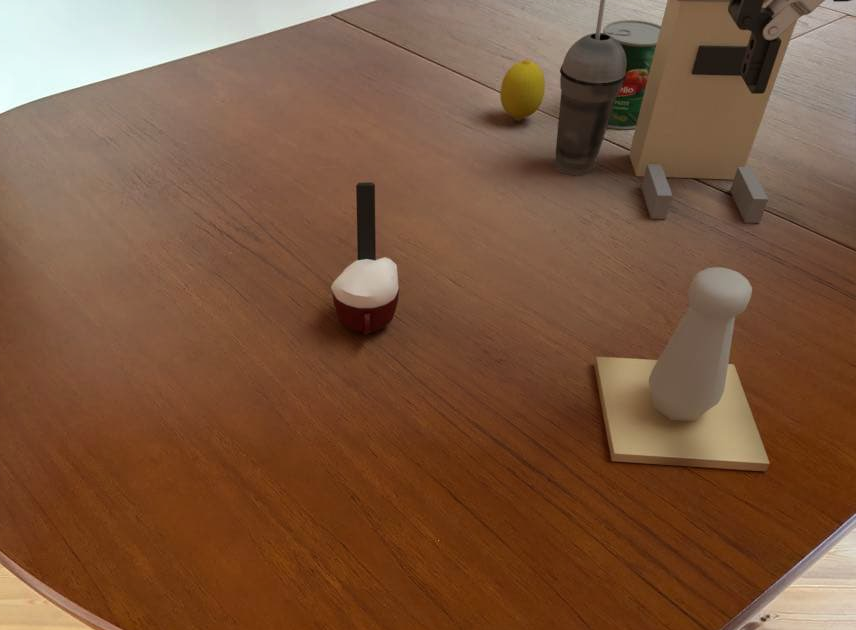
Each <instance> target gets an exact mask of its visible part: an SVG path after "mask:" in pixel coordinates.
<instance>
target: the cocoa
mask: <svg viewBox="0 0 856 630" xmlns="http://www.w3.org/2000/svg"><path fill="white" fill-rule="evenodd" d="M355 189H356V191H355V192H356V193H355V196H356V241H357V242H356V243H357V244H356V245H357V249H356V250H357V259H356V260H354V261H353V262H352V263H350V264H349V265H348V266H347V267H345V268H344V269H343V271H342V272H341V273H340V274H339V276H337V277H336V278H335V280H333V282H332V284H331V286H330V289H331V291H332V301H333V305H334V309H335V311H336V314H337V317H338V319H339V321H340V322H341V323H342V324H343V325H344V327H347V328H348V329H350V330H351V331H356V332H359V333H363V334H364V335H370V333H372V332H376V331H380V330H382V329H384V328H385V327H386V326H387V325H388V324H389V323H390V322H392V320H393V318H394V316H395V313H396V310H397V307H398V302H399V297H400V288H399V276H398V275H399V274H398V265H397V264H396V263H395V262H394V261H393V260H392V259H391V258H389V257H381V258H377V256H376V255H377V252H376V251H377V250H376V249H377V248H376V247H377V245H376V241H377V239H376V184H375V183H373V182H371V181H370V182H369V181H368V182H358V183H357V184H356V186H355Z"/></svg>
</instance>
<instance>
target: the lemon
mask: <svg viewBox="0 0 856 630" xmlns="http://www.w3.org/2000/svg"><path fill="white" fill-rule="evenodd" d="M545 91H546V80H545V75H544V73H543V71H542V69H541V68H540V66H539V65H538V64H536V63H535V62H534V61H533V62H532V61H531V60H530V59H529V58H525V59H524V60H521V61H519V62H516V63H514V64H513V65H511V66H510V67H509V68H508V70H507V71H506V72H505V74H504V77H503V79H502V82H501V86H500V95H499V96H500V103H501V106H502V108H503V109H504V112H506V113H507V114H508V115H509V116H511V117H513V118H514V119H515V120H516V121H521V120H522V119H524V118H528V117H530V116H531V115H533V114H534V113H536V112H537V110H539V108H540V106H541V105H542V102H543V100H544V97H545V96H544V95H545V93H546V92H545Z"/></svg>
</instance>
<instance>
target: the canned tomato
mask: <svg viewBox="0 0 856 630" xmlns="http://www.w3.org/2000/svg"><path fill="white" fill-rule="evenodd" d="M660 28H661V25H660V24H657V23H655V22H651V21H645V20H640V19H639V20H638V19H624V20H623V19H622V20H616V21H612V22H609V23H607V24H606V25H605V26H604V27H603V29H602V33H604V34H607V35H610V36H612V37H613V38H615V39H616V40H617V41H618V42H619V43H620V44H621V46H622V48H623V49H624V52H625V55H626V79H625V80H624V81H623V85H622V87H621V89H620V92H619V94H618V95H617V97H616V100H615V103H614V106H613V109H612V112H611V115H610V119H609V122H608V125H607V128H606V129H612V130H619V131H620V130H635V128H636V124H637V120H638V116H639V112H640V108H641V104H642V100H643V96H644V92H645V88H646V84H647V80H648V76H649V72H650V68H651V64H652V60H653V56H654V52H655V48H656V44H657V40H658V36H659V32H660Z"/></svg>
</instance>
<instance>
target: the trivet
mask: <svg viewBox="0 0 856 630" xmlns="http://www.w3.org/2000/svg"><path fill="white" fill-rule="evenodd" d="M657 361H658V359H646V358H630V357H629V358H628V357H609V356H595V360H594V363H593V367H594V368H593V369H594V372H595V378H596V384H597V389H598V394H599V400H600V405H601V411H602V416H603V422H604V427H605V434H606V438H607V444H608V449H609V454H610V460H611V462H617V463H629V464H631V463H632V464H647V465H659V466H660V465H661V466H663V465H664V466H675V467H676V466H677V467H678V466H679V467H690V468H691V467H693V468H706V469H707V468H708V469H719V470H720V469H722V470H736V471H752V472H754V471H755V472H767V470H768V469H769V466H770V464H771V463H770V459H769V456H768V454H767V451H766V448H765V446H764V442H763V441H762V438H761V434H760V432H759V429H758V426H757V424H756V421H755V418H754V416H753V412H752V410H751V407H750V404H749V402H748V398H747V396H746V394H745V391H744V387H743V385H742V383H741V379H740V376H739V374H738V371H737V369H736V366H735V364H734V363H728V368H727V375H726V382H725V389H724V392H723V395H722V397H721V400H720V401H719V402H718V404H717V405H715V406H714V407H712V408H711V409H709V410H708V411H706V412H705V413H704V414H702V415H701V416H700V417H699V418H697V419H696V420H695V421H680V420H671V419H669V418H668V417H666V416H665V415H664V414H662V413H661V412H659V411H658V410H657V409H655V408H654V404H653V398H652V393H651V389H650V385H649V376H650V374H651V372H652V370H653V368H654V366H655V364H656V363H657Z"/></svg>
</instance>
